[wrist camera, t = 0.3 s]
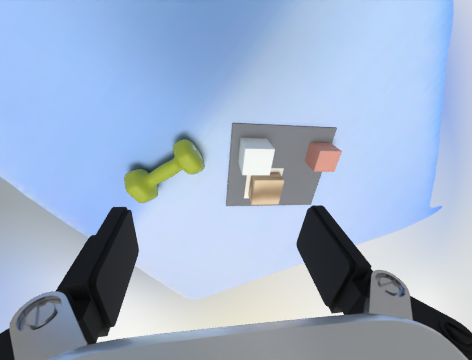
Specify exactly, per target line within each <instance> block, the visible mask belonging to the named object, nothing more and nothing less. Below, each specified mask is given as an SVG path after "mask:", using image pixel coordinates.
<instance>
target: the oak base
mask: <svg viewBox="0 0 472 360" xmlns="http://www.w3.org/2000/svg"><path fill="white" fill-rule="evenodd" d="M283 184H284V179H283V177H282V176H281V174H280V173H279V172H270V175H251V179H250V186H249V193H248V196H249V199H250V203H251V205H272V204H279V201H280V197H281V192H282V188H283Z"/></svg>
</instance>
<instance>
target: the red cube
mask: <svg viewBox="0 0 472 360" xmlns="http://www.w3.org/2000/svg"><path fill="white" fill-rule="evenodd" d="M341 152H342V151H341V150H339V149H338V148H336V147H335V146H334V145H332V144H331V143H322V142H310V145H309V148H308V152H307V155H306V159H305V162H306V163H307V164H308V166H309V167H310V168H311V169H312V170H313V171H322V172H334V171H335V168H336V166H337V163H338V160H339V158H340V155H341Z"/></svg>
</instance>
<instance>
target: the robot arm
mask: <svg viewBox="0 0 472 360" xmlns="http://www.w3.org/2000/svg"><path fill="white" fill-rule="evenodd" d="M297 248H298V251H299V253H300V255H301V257H302V259H303V261H304V263H305V265H306V267H307V269H308V271H309V273H310V275H311V277H312V279H313V281H314V283H315V285H316V287H317V289H318V291H319V293H320V295H321V298H322V300H323V302H324V303H325V305H326V306H328V307H329V309H330V311H331V313H340V312H343V313H344V315H339V316H327V317H317V318H308V319H297V320H286V321H277V322H266V323H257V324H248V325H238V326H228V327H218V328H209V329H201V330H191V331H181V332H173V333H164V334H155V335H147V336H139V337H131V338H123V339H116V340H110V341H106V342H99V343H96V341H97V339H98V337H103V336H107V335H108V332H109V329H110V327H114V326H115V324H116V321H117V318H118V315H119V312H120V309H121V306H122V303H123V300H124V297H125V293H126V290H127V287H128V284H129V281H130V278H131V275H132V272H133V269H134V266H135V263H136V260H137V257H138V252H139V248H138V243H137V238H136V233H135V227H134V222H133V217H132V212H131V210H127V208H126V207H113V208H112V209H111V210H110V212H109V214H108V215H107V217H106V219H105V220H104V222H103V224H102V225H101V227H100V229H99V230H98V232H97V234H96V235H92V236H90V238H89V239H88V240H87V242H86V243H85V245H84V247H83V248H82V250H81V251H80V253H79V255H78V256H77V258H76V259H75V261H74V263H73V264H72V266H71V267H70V269H69V271H68V272H67V274H66V275H65V277H64V279H63V281H62V282H61V284H60V285H59V287H58V289H57V290H56V291H55V292H48V293H43V294H41V295H39V296H37V297H35V298H33V299H31V300H30V301H28V302H27V303H26V304H25V305H23V306H22V307H21V308H20V309H19V310H18V311H17V312H16V314H15V315H14V316H13V318H12V320H11V322H10V328H9V329H7V330H5V331H4V332H2V333H1V334H0V360H472V333H471V332H470V331H469V330H468V329H467V328H466V327H465V326H463V325H462V324H461V323H459V322H457V321H456V320H454V319H453V318H451V317H449V316H447V315H445V314H443V313H441V312H439V311H438V310H436V309H434V308H432V307H430V306H428V305H426V304H424V303H423V302H420V301H419V300H417V299H415V298H413V297H411V296H410V294H409V291H408V289H407V287H406V285H405V284H404V283H403V282H402V281H401V280H400V279H399V278H397V277H396V276H395V275H393V274H391V273H389V272H386V271H383V270H376V271H374V272H373V271H372V270H371V265H370V264H369V263H368V261H367V260H366V259H365V258H364V256H363V255H362V254H361V252H360V251H359V250H358V249H357V247H356V246H355V245H354V244H353V242H352V241H351V240H350V239H349V237H348V236H347V235H346V234H345V232H344V231H343V230H342V229H341V227H340V226H339V225H338V224H337V222H336V221H335V220H334V219H333V217H332V216H331V215H330V214H329V212H328V211H327V210H326V209H325V207H324V206H311V207H310V208H309V209H308V210H307V213H306V216H305V219H304V222H303V225H302V228H301V231H300V234H299V237H298V240H297Z"/></svg>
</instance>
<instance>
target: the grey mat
mask: <svg viewBox="0 0 472 360" xmlns="http://www.w3.org/2000/svg"><path fill="white" fill-rule="evenodd" d="M336 129H337V128H330V127H308V126H286V125H264V124H242V123H232V135H231V148H230V161H229V174H228V187H227V200H226V206H258V205H251V203H250V199H249V196H248V193H249V186H250V179H251V175H242V173H241V170H240V166H239V163H238V159H239V149H240V139H241V138H265V139H268V141H269V142H270V143H271V145H272V146H273V147H274V149H275V152H274V157H273V162H272V167H271V172H279V173H280V174H281V176H282V177H283V179H284V184H283V188H282V192H281V197H280V201H279V204H272V205H311V202H312V199H313V196H314V193H315V191H316V188H317V185H318V182H319V179H320V176H321V173H322V171H313V170H312V169H311V168H310V167H309V166H308V164H307V163H306V162H305V159H306V155H307V152H308V148H309V145H310V142H322V143H331V144H332V141H333V138H334V135H335V132H336Z"/></svg>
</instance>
